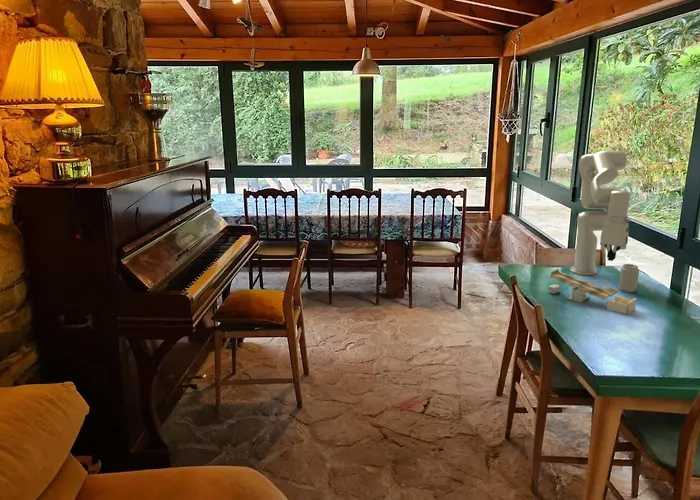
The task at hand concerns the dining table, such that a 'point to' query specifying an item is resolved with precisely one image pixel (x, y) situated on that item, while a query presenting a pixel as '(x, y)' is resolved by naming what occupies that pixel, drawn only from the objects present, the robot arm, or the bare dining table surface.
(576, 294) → the fulcrum
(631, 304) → the dish
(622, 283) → the can
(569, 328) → the dining table surface
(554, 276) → the lever
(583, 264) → the robot arm
